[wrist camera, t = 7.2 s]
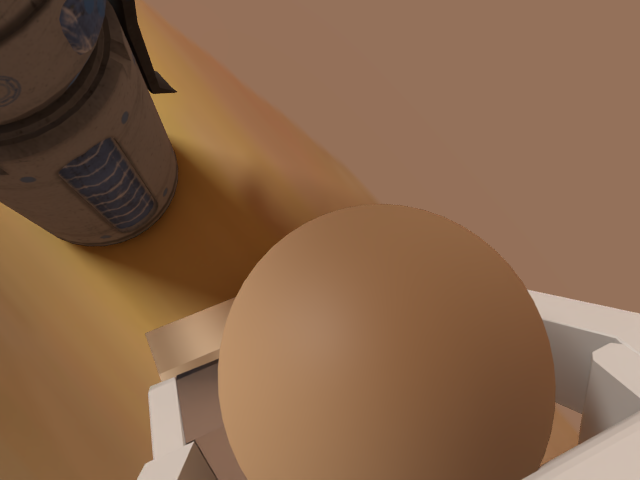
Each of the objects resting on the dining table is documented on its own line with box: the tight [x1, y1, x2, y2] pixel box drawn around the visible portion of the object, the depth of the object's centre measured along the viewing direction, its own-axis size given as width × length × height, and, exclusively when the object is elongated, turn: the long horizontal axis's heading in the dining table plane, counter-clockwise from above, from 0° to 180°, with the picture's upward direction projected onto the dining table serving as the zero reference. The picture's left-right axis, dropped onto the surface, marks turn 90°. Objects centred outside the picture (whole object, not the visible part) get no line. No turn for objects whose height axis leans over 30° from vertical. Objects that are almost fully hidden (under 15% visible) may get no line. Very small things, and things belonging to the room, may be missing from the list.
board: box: [145, 297, 236, 382], centre depth 29 cm, size 14×16×4 cm
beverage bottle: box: [0, 0, 178, 246], centre depth 22 cm, size 10×13×25 cm
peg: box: [218, 204, 556, 480], centre depth 10 cm, size 4×4×10 cm
